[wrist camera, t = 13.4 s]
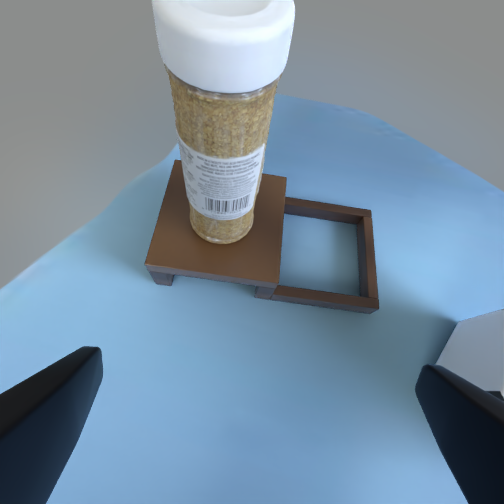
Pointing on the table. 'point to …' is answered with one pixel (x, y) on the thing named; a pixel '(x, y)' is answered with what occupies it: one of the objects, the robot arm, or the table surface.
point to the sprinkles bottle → (223, 101)
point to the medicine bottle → (478, 352)
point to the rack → (255, 246)
